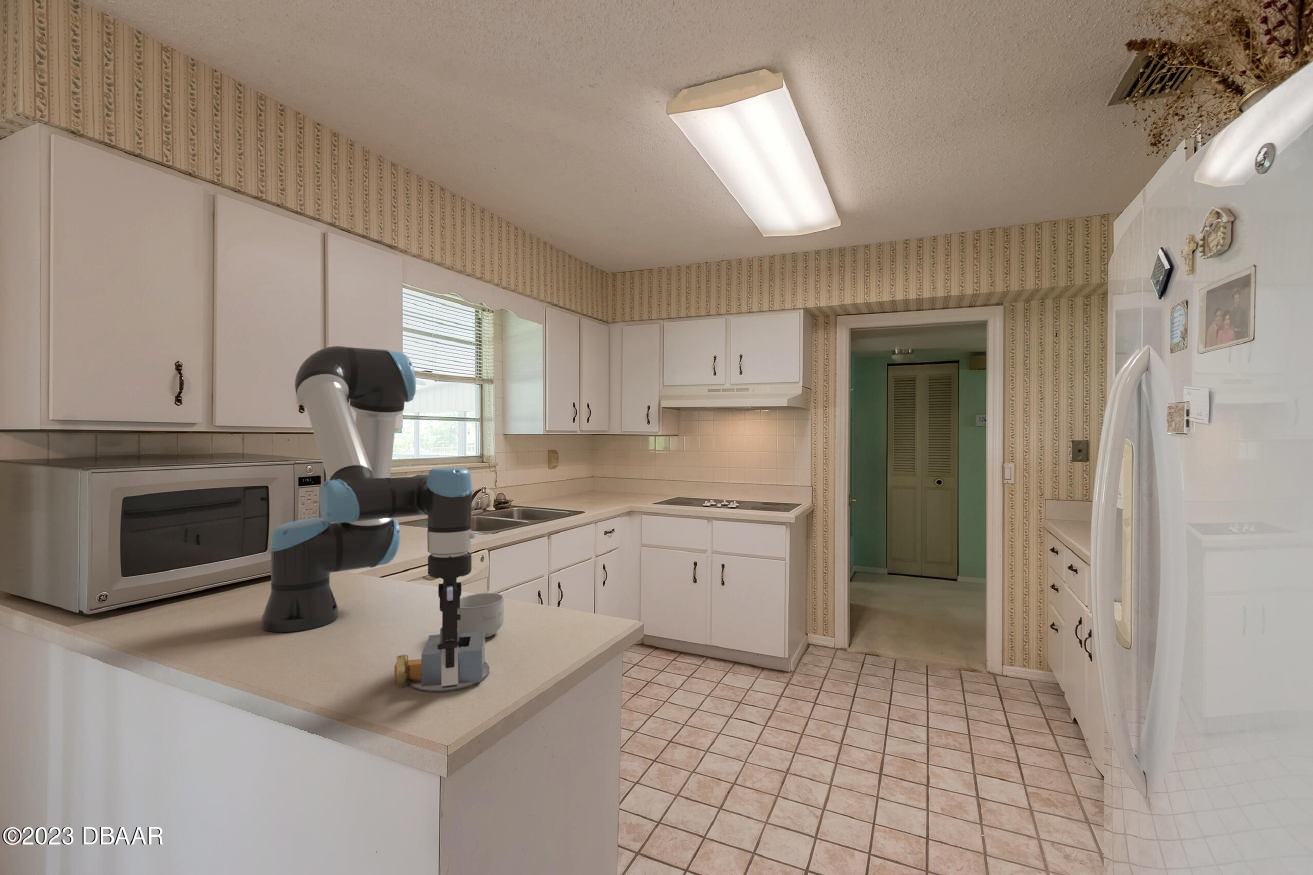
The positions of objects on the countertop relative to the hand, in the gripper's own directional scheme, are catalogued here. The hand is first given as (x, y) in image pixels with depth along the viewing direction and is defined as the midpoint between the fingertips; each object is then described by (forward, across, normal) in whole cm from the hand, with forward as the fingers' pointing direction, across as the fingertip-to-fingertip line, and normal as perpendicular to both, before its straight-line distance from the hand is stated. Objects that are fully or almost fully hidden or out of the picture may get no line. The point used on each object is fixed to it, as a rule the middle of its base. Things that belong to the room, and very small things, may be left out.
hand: (450, 669), depth 108 cm
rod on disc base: (+1, 0, 0) cm, 1 cm away
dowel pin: (+1, -2, +8) cm, 8 cm away
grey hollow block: (0, 0, +2) cm, 2 cm away
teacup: (+1, +22, -7) cm, 23 cm away
